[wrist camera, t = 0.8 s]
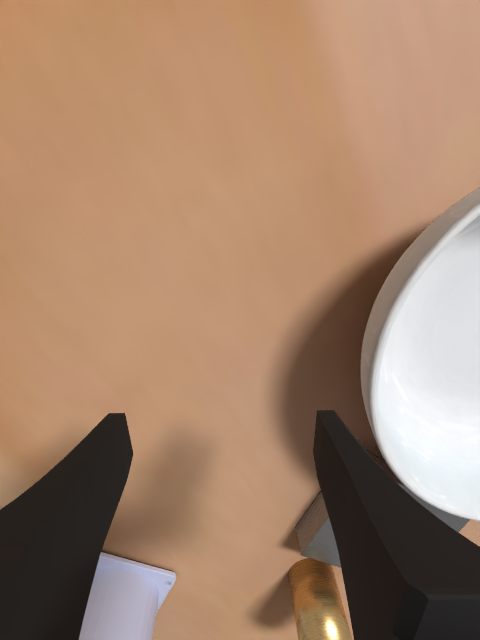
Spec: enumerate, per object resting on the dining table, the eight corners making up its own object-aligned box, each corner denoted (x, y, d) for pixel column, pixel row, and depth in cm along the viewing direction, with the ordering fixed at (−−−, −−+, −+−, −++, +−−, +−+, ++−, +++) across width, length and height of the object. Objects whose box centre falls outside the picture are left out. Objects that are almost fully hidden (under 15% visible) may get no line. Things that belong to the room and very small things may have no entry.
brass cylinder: (319, 593, 33) (338, 677, 27) (280, 581, 32) (292, 666, 27) (341, 565, 32) (366, 647, 26) (301, 553, 31) (318, 634, 25)
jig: (394, 559, 32) (407, 588, 29) (295, 527, 30) (301, 555, 28) (456, 487, 29) (476, 512, 27) (351, 446, 27) (363, 470, 25)
